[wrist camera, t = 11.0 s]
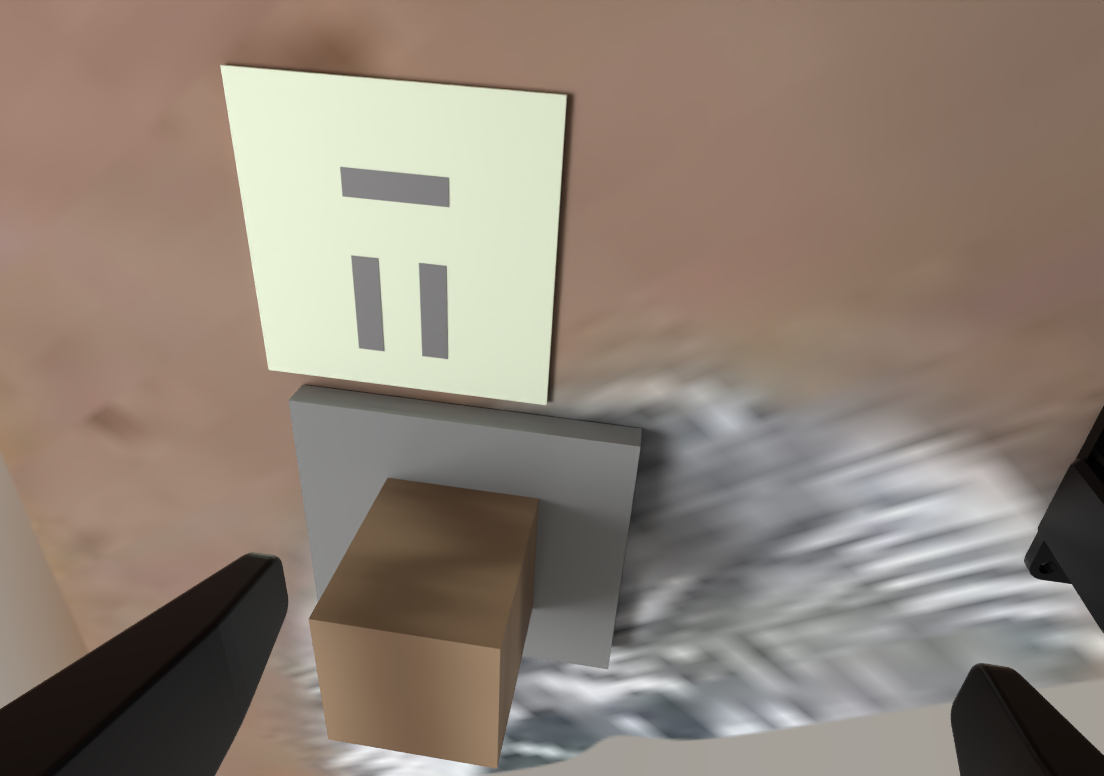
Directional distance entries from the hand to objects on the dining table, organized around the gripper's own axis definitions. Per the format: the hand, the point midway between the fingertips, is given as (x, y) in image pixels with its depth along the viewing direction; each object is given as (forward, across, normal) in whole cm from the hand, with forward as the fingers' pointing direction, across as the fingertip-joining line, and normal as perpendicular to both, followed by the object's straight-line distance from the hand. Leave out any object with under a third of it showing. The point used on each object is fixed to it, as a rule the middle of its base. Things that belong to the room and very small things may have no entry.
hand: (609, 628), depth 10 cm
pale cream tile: (+12, +7, 0) cm, 14 cm away
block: (+12, +5, +10) cm, 16 cm away
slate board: (+12, +5, +10) cm, 17 cm away
